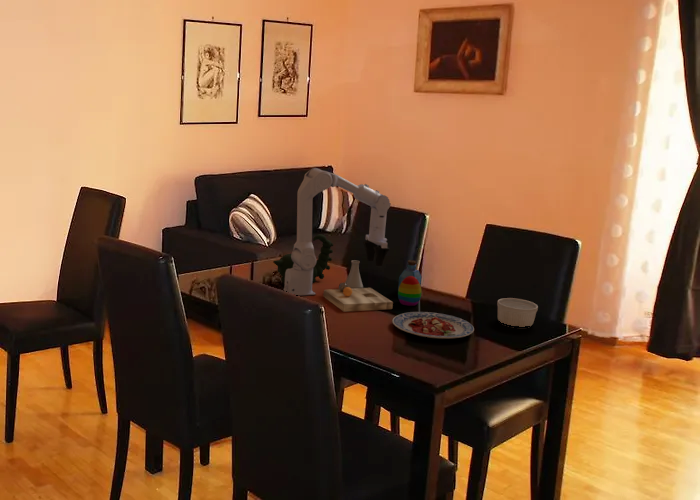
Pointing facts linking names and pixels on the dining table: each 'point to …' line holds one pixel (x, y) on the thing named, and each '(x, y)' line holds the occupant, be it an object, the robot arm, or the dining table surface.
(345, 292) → the ball
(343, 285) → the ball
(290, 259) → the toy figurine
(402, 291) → the decorative egg
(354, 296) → the board
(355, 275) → the flask
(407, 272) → the perfume bottle
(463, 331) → the ceramic plate
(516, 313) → the ramekin
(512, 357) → the dining table surface
